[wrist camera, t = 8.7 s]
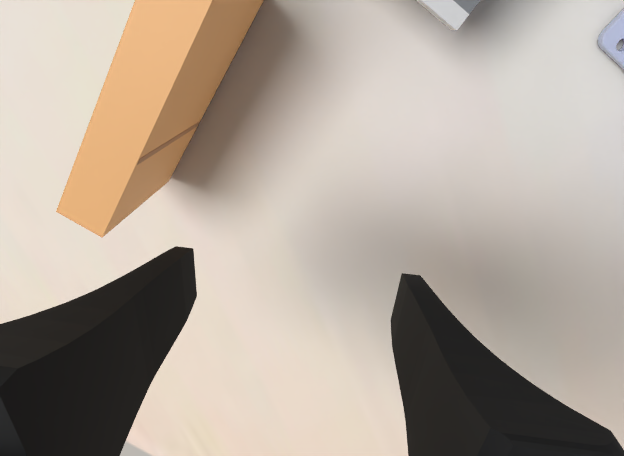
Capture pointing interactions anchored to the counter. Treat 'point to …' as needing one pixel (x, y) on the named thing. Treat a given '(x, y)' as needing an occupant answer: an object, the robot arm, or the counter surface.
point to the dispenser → (450, 11)
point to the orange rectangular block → (151, 104)
